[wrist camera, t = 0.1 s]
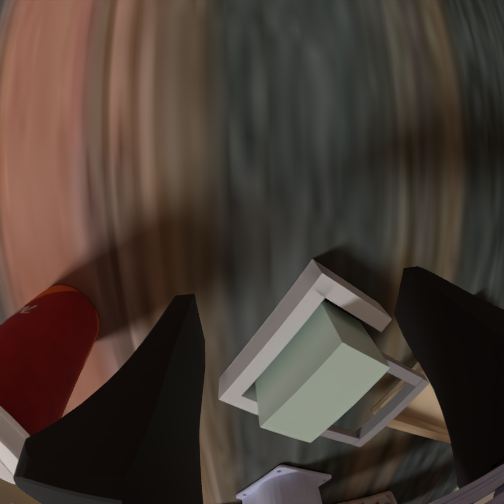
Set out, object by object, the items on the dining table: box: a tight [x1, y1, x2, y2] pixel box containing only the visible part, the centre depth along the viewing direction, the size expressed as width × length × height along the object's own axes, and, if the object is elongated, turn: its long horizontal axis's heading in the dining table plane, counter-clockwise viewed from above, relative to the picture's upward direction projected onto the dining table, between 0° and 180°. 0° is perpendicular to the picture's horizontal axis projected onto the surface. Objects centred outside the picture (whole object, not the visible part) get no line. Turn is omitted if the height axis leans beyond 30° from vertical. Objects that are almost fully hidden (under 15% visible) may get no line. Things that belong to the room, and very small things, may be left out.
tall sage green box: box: [255, 300, 430, 447], centre depth 21 cm, size 10×8×6 cm
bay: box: [219, 259, 392, 415], centre depth 22 cm, size 7×12×2 cm, turn 146°
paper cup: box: [0, 285, 99, 484], centre depth 15 cm, size 8×8×14 cm
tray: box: [371, 362, 450, 443], centre depth 26 cm, size 14×16×2 cm
